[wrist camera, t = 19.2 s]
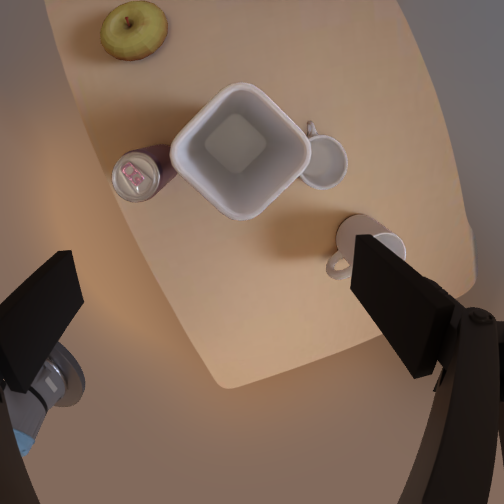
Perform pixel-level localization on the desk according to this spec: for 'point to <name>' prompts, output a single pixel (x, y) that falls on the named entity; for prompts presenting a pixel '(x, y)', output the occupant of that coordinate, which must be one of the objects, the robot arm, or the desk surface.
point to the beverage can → (143, 173)
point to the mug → (347, 242)
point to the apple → (133, 30)
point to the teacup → (324, 161)
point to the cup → (240, 151)
